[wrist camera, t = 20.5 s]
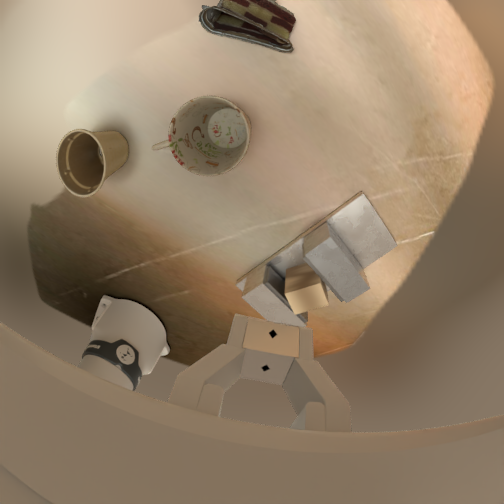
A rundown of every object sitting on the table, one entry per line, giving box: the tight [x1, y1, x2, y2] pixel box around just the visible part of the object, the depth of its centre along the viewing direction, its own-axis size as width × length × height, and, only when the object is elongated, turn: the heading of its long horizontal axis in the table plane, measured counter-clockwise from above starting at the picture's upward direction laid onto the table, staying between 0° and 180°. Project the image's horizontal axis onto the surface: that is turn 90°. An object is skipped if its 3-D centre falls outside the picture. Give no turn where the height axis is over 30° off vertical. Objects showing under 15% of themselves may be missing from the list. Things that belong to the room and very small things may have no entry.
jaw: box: [302, 222, 370, 303], centre depth 37 cm, size 5×10×5 cm, turn 43°
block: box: [285, 263, 329, 315], centre depth 39 cm, size 5×4×6 cm
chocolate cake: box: [199, 0, 296, 53], centre depth 24 cm, size 10×7×12 cm
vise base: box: [236, 191, 398, 327], centre depth 39 cm, size 24×10×6 cm, turn 133°
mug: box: [152, 96, 251, 176], centre depth 30 cm, size 8×13×10 cm, turn 103°
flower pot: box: [56, 129, 129, 197], centre depth 33 cm, size 9×9×9 cm
